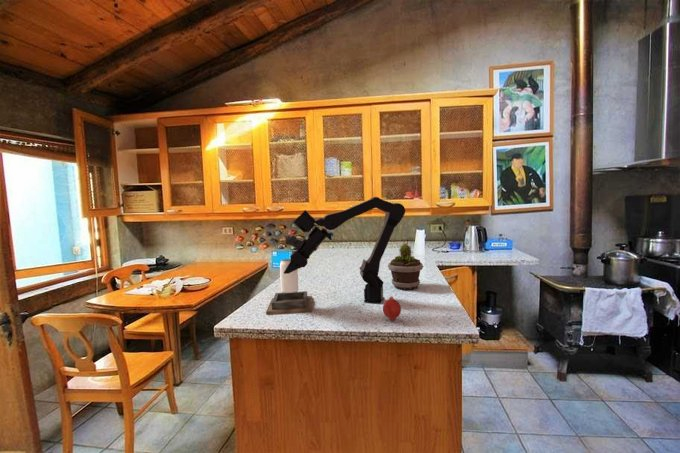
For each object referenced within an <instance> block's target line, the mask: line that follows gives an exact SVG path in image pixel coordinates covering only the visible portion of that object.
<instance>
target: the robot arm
mask: <svg viewBox="0 0 680 453" xmlns="http://www.w3.org/2000/svg"><path fill="white" fill-rule="evenodd" d="M375 209H377V210H379V211H382V212H384V213H385V214H384V220H383V221H384V222H383V225H382V227H381V230H380V233H379V235H378V237H377V238H376V239H377V240H376V242H375V244H374V247H373V248H372V251H371V254H370V256H369V257H368V258H367V259H363V260H362V263H361V266H360V267H359V270H360V271H359V274H360V277H361V279H362V280H363V282H365V283H366V284H365V285H364V288H363V294H364V295H363V298H364V301H363V302H364V303H368V304H370V303H373V304H382V302H383V301H384V300H385V297H384V283H385V282H384V281H383V279H382V278H380V276H379V272H380V266H381V261H382V258H383V256H384V253H385V251H386V249H387V246H388V244H389V242H390V240H391V237H392V236H393V235H392V234H393V232H394V230H395V228H396V227H397V226H398V224H400V222H401V220H402V219H403V218H404V216H405V213H406V209H405V206H404V205H403V204H402V203H399V202H398V203H397V202H395V203H394V202H390V201H387V200H384V199H381V198H380V197H378V196H374V197H373V196H372V197H370V199H367V200H365V201H363V202H360V203H359V204H356V205H353V206H352V207H349V208H346V209H344V210H340V211H335V212H332V213H327V214H325V215H324V216H323V217H321V218H316V219H315V218H314V216H312V215H311V214H310V213H309V212H308V210H306V209H304V211H302V213H301V214H300V215H298V216H297V217H296V219H295V220H294V221H293V222H292V224H293V225H294V226H295V227H297V228H298V230H300V231H301V232H302V233H305V232H306V233H308V234H307V236H306V237H303V238H299V237H297V236H296V235H294V234H287V236H286V239H285V241H284V244H285V245H287V246H292V247H294V248H293V249H292V251H291V254H290V258H289V259H291V262H290V263H289V265H288V266H287V268H286V270H285V271H284V274H286V273H287V274H289V273H291V272H293V271H295V270H297V269H298V270H299V269H302V268H305V267H306V266H307V265H308V260H309V259H310V257H311V255H312V254H313V253H315V252H316V251H317V250H318V248H319V246H320V245H321V244H322V243H323V242H324V241H325V239H326V238H327V240H329V241H332V240H333V239H332V234H333V233H332V232H329V231H333V230H336V229H337V228H339V227H341V225H343V224H344V223H346V222H347V221H348V220H350V219H353V218H355V217H357V216H360V215H362V214H364V213H366V212H369V211H371V210H375ZM320 227H322V228H320ZM327 230H328V231H327Z"/></svg>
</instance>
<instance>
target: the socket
mask: <svg viewBox="0 0 680 453" xmlns="http://www.w3.org/2000/svg"><path fill="white" fill-rule="evenodd" d="M274 294H275V295H274V296H273V297H272V298H271V300H270V301H269V303H268V306H267V309H266V312H265V315H275V314H278V315H279V314H293V313H309V312H310V313H311V312H312V307H313V296H312V295H308V291H307V290H306V291H305V290H304V291H297V292H295V293H282V292H275V293H274Z"/></svg>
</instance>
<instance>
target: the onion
mask: <svg viewBox="0 0 680 453" xmlns="http://www.w3.org/2000/svg"><path fill="white" fill-rule="evenodd" d="M401 312H402V307H401V304H400V303H399V301H397V300H396V299H395V298H394V296H390V297H389V298H388V299H387V300H386V301H385V302H384V304H383V306H382V313H383V315H384V316H385V317H386V318H387V319H388V320H390V321H392V322H393V321H395V320H396V319H397V318H398V317H400V315H401Z"/></svg>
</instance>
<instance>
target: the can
mask: <svg viewBox="0 0 680 453" xmlns="http://www.w3.org/2000/svg"><path fill="white" fill-rule="evenodd" d="M290 262H291V258H286V259H285V258H284V259H281V260H280V263H279V277H280V291H281V292H280V293H295V292H299V274H298V273H299V271H298V270H299V269H297V270H295V271H293V272H291V273H289V274H287V273H286V274H284V271H285V270H286V268H287V266H288V265H289V263H290Z"/></svg>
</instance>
